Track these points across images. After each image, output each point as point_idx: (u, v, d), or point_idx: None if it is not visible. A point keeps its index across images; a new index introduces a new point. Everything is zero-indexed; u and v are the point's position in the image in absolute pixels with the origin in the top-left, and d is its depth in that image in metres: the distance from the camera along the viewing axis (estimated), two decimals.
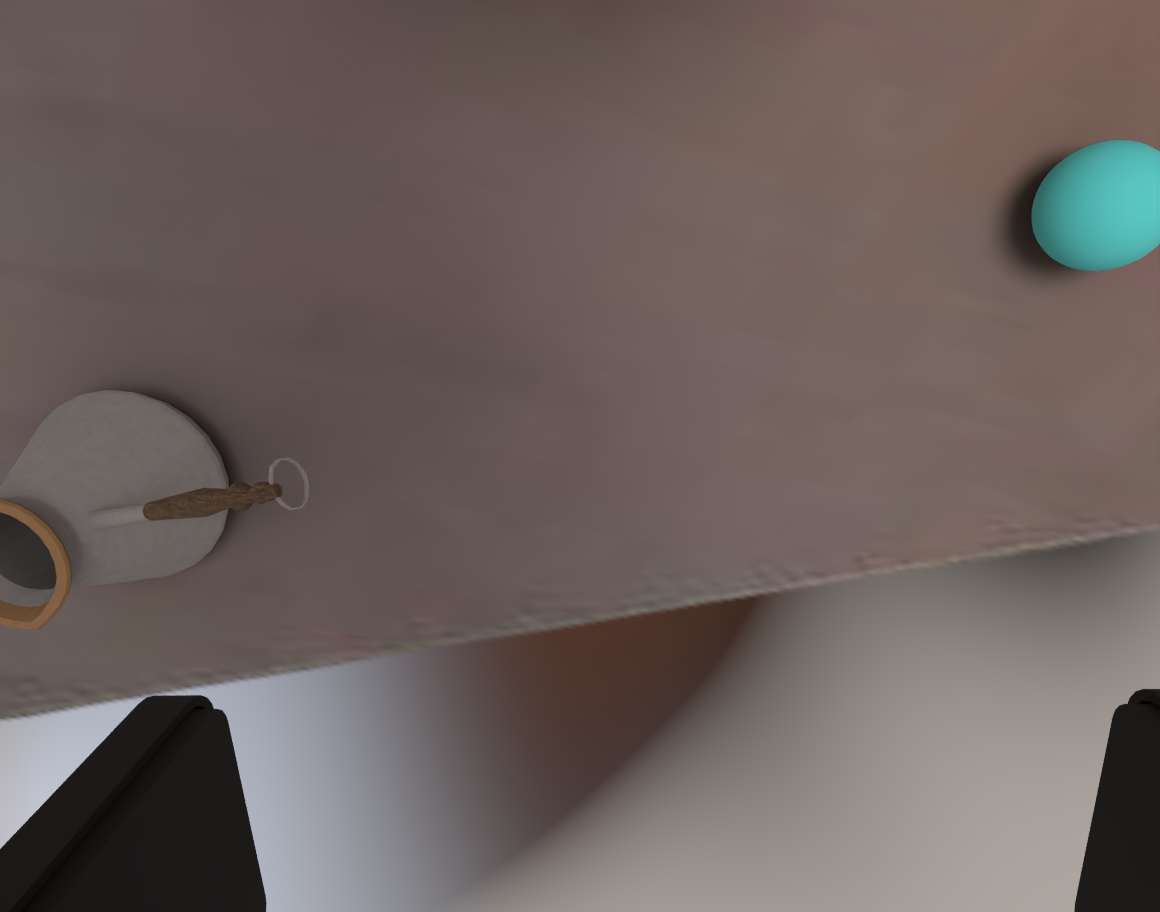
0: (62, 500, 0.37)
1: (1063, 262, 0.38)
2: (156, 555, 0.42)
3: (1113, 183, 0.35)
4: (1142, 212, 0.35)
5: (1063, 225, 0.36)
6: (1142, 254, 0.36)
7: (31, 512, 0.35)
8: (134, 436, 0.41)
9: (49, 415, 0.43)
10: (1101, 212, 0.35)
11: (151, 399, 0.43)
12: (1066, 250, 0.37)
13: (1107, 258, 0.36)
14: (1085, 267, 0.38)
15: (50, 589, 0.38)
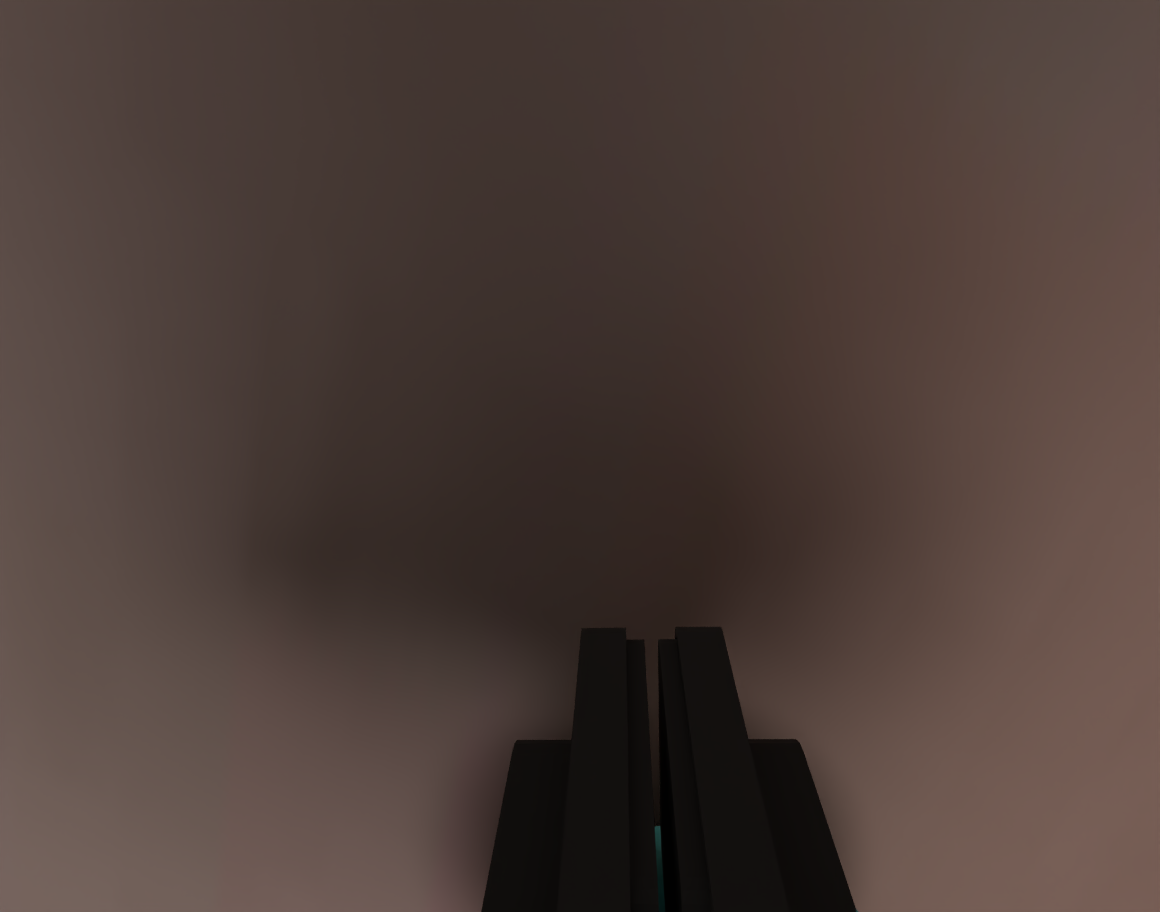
0: None
1: None
2: None
3: None
4: None
5: None
6: None
7: None
8: None
9: None
10: None
11: None
12: None
13: None
14: None
15: None
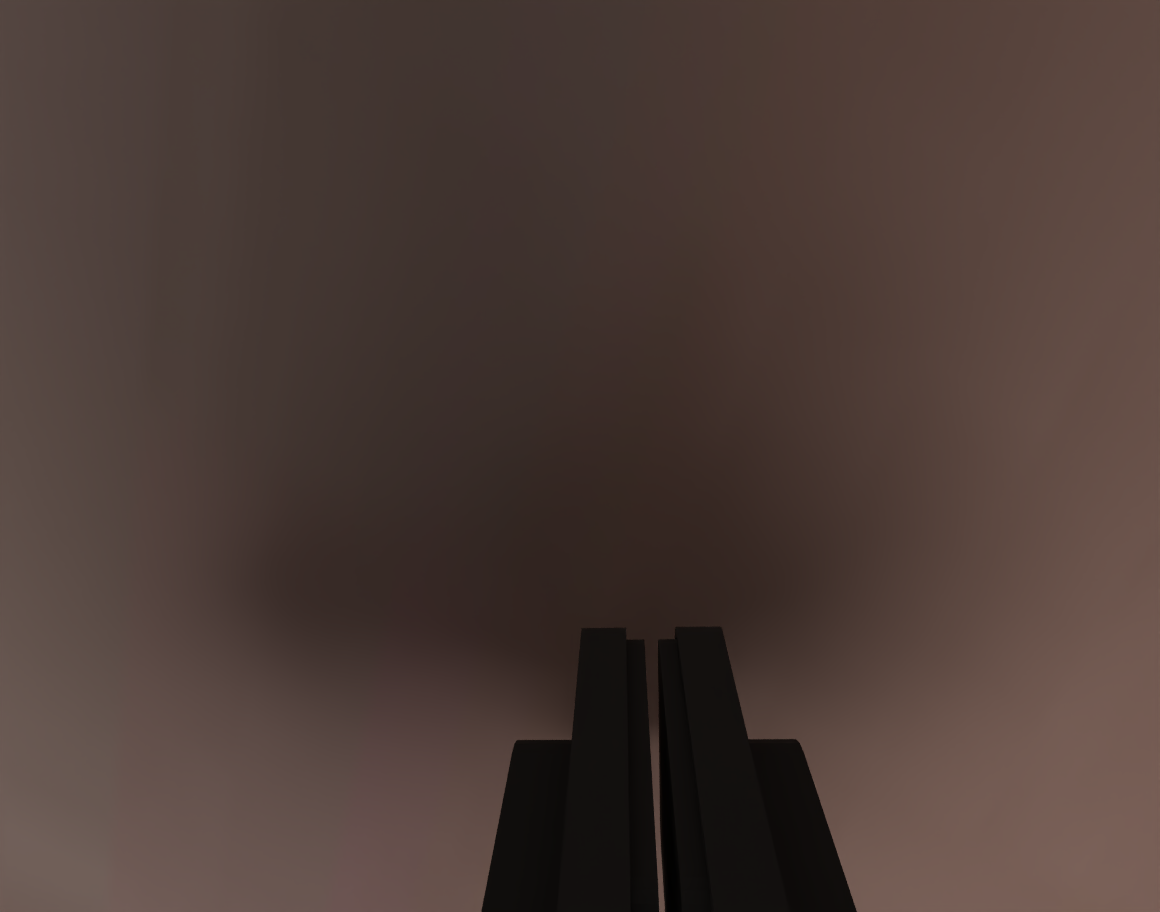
0: None
1: None
2: None
3: None
4: None
5: None
6: None
7: None
8: None
9: None
10: None
11: None
12: None
13: None
14: None
15: None
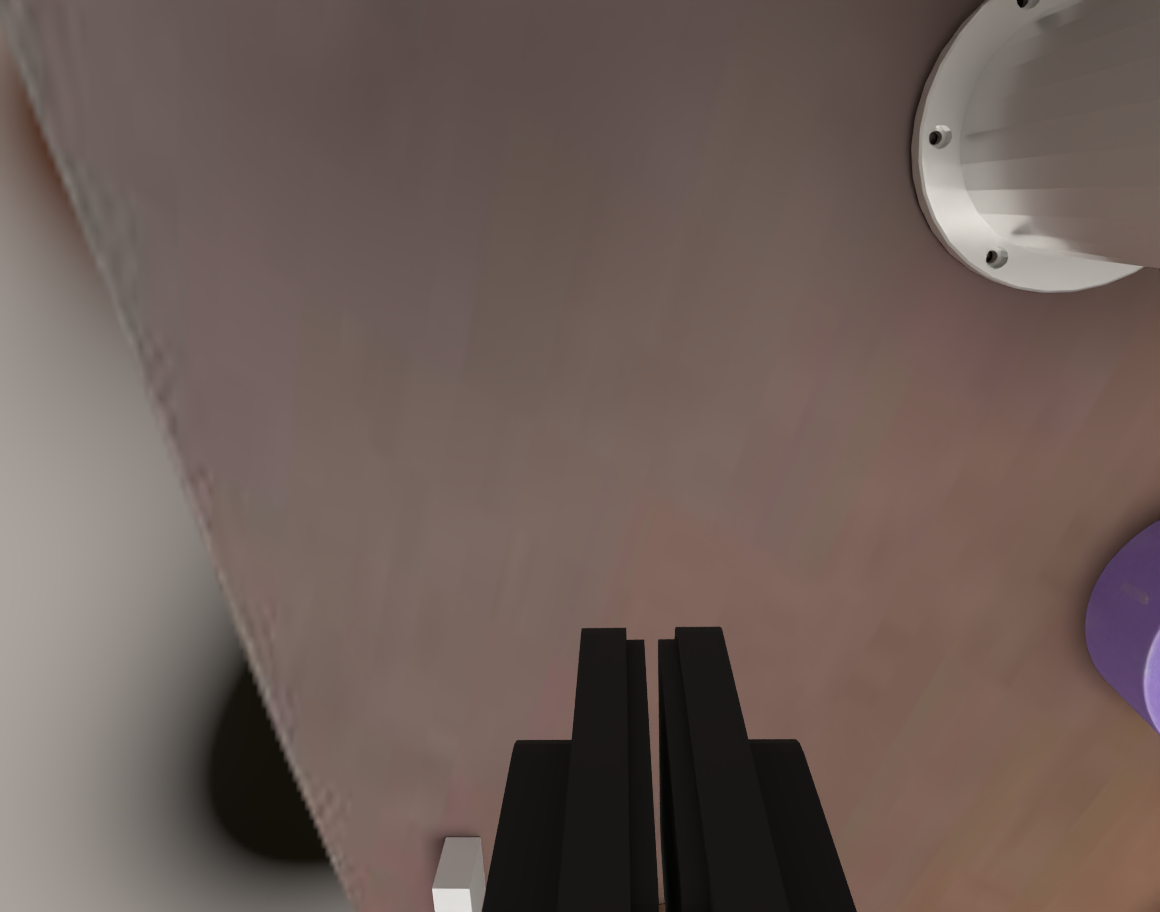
0: None
1: None
2: None
3: None
4: None
5: None
6: None
7: None
8: None
9: None
10: None
11: None
12: None
13: None
14: None
15: None
